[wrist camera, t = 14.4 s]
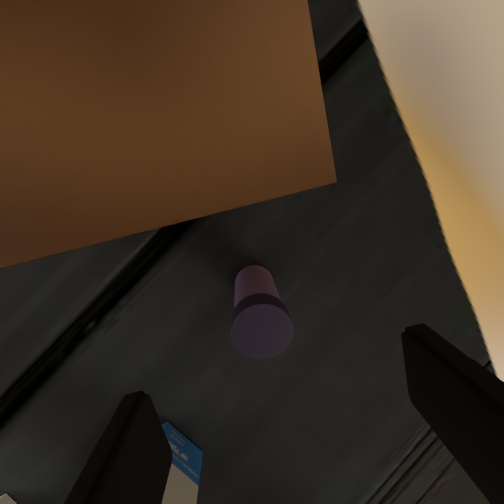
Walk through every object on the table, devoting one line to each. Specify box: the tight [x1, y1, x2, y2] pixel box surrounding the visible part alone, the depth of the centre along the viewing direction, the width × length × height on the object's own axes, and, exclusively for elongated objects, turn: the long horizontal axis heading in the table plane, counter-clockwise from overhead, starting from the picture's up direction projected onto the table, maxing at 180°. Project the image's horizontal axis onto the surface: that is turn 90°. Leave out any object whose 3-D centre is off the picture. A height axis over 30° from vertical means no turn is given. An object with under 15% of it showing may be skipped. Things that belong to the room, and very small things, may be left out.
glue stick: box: [231, 265, 293, 360], centre depth 17 cm, size 3×3×7 cm
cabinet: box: [0, 0, 337, 268], centre depth 12 cm, size 17×14×10 cm
